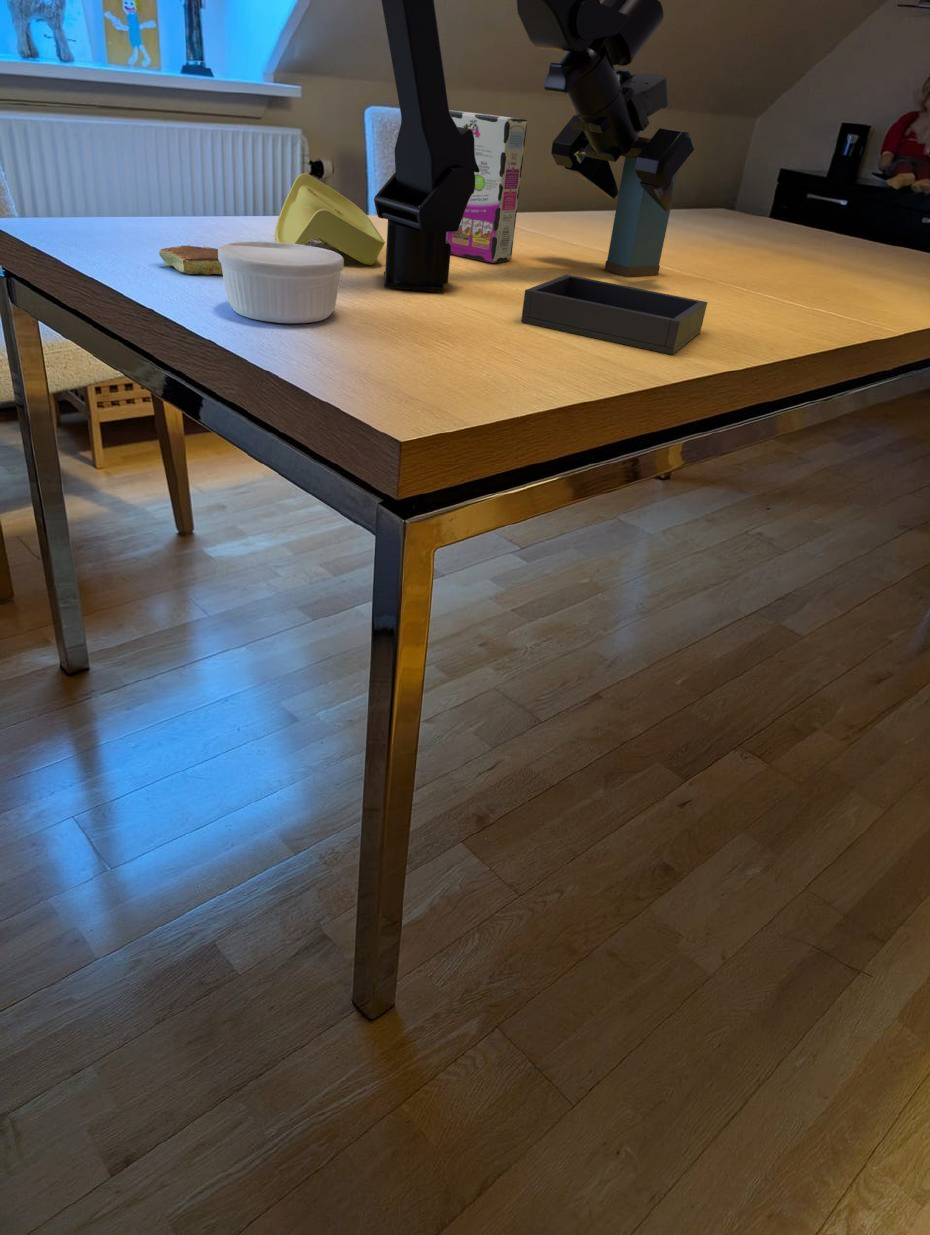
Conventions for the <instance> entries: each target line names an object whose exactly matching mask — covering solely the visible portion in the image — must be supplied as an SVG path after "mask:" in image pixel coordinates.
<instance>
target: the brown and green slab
mask: <svg viewBox="0 0 930 1235" xmlns="http://www.w3.org/2000/svg"><path fill="white" fill-rule="evenodd" d="M218 249H219V248H215V247H210V246H194V245H179V246H171V247H165V248H161V249H160V250H159V251H158V255H159V257H160V258H161V259H162V261H163V262H164V265H165V266H167V267H171V266H172V267H174V268H175V269H176V271H179V272H180V273H185V274H186V275H205V276H206V275H222V276H223V272H222V266H221V263H220V261H219V259H218Z"/></svg>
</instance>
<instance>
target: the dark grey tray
mask: <svg viewBox="0 0 930 1235" xmlns="http://www.w3.org/2000/svg"><path fill="white" fill-rule="evenodd" d="M523 295H524V296H523V302H522V303H523V304H522V310H521V319H520V322H521V323H524V324H529V325H532V326H537V327H543V328H547V329H552V330H555V331H561V332H565V333H570V334H574V335H579V336H584V337H588V338H593V339H598V340H601V341H606V342H611V343H615V344H621V345H625V346H630V347H634V348H639V349H644V350H648V351H652V352H656V353H661V354H666V355H669V356H672V355H674V354H675V353H676V352H678V351H680V349H682V348H683V347H684V346H685V345H687V343H690V341H692V340H693V339H694V338H695V337H697V336H698V335H699V334H700V333H701V331H702V327H703V323H704V320H705V315H706V311H707V307H708V306H707V305H708V302H707V301H704V300H700V299H693V298H689V297H684V296H678V295H674V294H668V293H663V292H658V291H652V290H647V289H643V288H637V287H632V286H626V285H622V284H618V283H612V282H606V281H601V280H596V279H591V278H586V277H583V276H582V277H581V276H577V275H571V274H564V275H562V276H558V277H556V278H554V279H550V280H548V281H546V282H542V283H539V284H538V285H537V284H536V285H535V286H532V287H529V288H527V289H525V290H524V294H523Z"/></svg>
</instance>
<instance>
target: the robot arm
mask: <svg viewBox="0 0 930 1235" xmlns="http://www.w3.org/2000/svg"><path fill="white" fill-rule="evenodd" d="M381 6H382V11H383V18H384V23H385V30H386V36H387V40H388V47H389V52H390V53H389V54H390V58H391V65H392V71H393V76H394V81H395V87H396V94H397V99H398V106H399V110H400V111H399V112H400V119H401V120H400V121H401V122H400V126H399V130H398V133H397V137H396V142H395V144H394V168H395V169H394V170H395V172H394V173H393V174H392V175H391V176H390V178H389V179H388V180H387V181H386V183H384V185H383V186H382V187H381V189H379V190H378V192H377V193H376V194H375V196H374V197H373V202H374V207H375V211H376V215H377V218H379V219H383V220H387V229H386V230H387V231H386V246H385V247H386V250H385V266H384V267H385V270H384V271H383V287H384V288H389V289H401V290H402V289H403V290H413V291H424V292H425V291H426V292H436V293H444V292H445V285H447V284H448V283H449V274H450V265H451V264H450V263H451V254H450V253H451V244H450V242H449V241H448V240H446V235H447V232H456V231H458V229H459V226H460V223H461V220H462V217H463V215H464V212H465V209H466V206H467V203H468V201H469V199H470V197H471V195H472V194H473V193H474V190H475V173H474V172H477V173H478V172H479V168H478V165H477V163H476V159H475V152H474V136H473V132H472V130H471V129H467V128H462V127H457V126H456V124H455V122H454V120H453V119H452V117H451V115H450V111H449V110H450V107H449V101H448V93H447V86H446V78H445V71H444V64H443V57H442V50H441V42H440V36H439V28H438V21H437V14H436V13H437V12H436V5H435V0H381ZM516 11H517V14H518V17H519V19H520V21H521V23H522V26H523V28H524V30H525V32H526V34H527V36H528V39H529V41H530V42H531V43H532V45H534V46H535V47H536V48H537V49H540V50H541V49H542V50H550V51H563V52H565V53H564V54H563V56H562V57H560V59H559V60H558V62H550V63H549V66H548V72H547V75H546V77H545V80H544V85H543V90H544V91H546V92H552V93H560V94H566V96H567V97H568V98H567V99H568V100H569V102H570V105H571V107H572V110H573V111H574V113H575V115H572V117H571V118H570V120H569V121H568V122H567V123H566V125H564V127H563V128H562V129H561V131H559V133H558V135H557V136H556V137H555V138H554V139H553V141H552V143H551V144H552V145H551V152H550V154H551V156H552V158H553V159H554V162H555V164H556V166H561V167H564V169H565V170H566V171H567V172H571V173H572V174H574V175H575V176H577V177H579V178H580V179H582V180H583V181H585V182H586V183H588V184H590V185H591V186H593V187H594V188H595V189H597V190H598V191H599V192H601V193H602V194H604V195H605V196H607V197H608V198H610V199H612V200H615V199H616V197H618V195H619V188H618V185H617V182H616V179H615V176H614V173H613V170H612V167H611V164H610V162H613V163H616V162H617V161H618V160H619V159H620V157H624V158H625V157H629V158H635V159H636V163H635V169H634V170H635V172H636V175H637V177H638V178H639V179H641V180H642V181H641V182H640V183H639V184H640V185H641V186H642V188H643V189H644V190H645V191H646V192H647V193H648V194H649V195H650V196H651V197H652V198H653V199H654V200H655V201H656V203H657V204H658V205H659V206H660V207H661V208H663V209H664V210H665V211H668V210H669V209H670V208H671V209H672V206H673V200H674V195H673V181H674V175H675V173H676V172H677V171H678V172H679V170H680V168H682V166H683V165H684V164H685V162H686V161H687V160H688V158H689V157H690V156H691V155H692V153H693V151H695V146H694V143H693V140H692V137H691V134H690V132H689V131H683V130H678V129H677V130H676V129H672V128H671V129H670V128H663V127H662V128H661V127H660V128H658V129H657V131H656V132H655V133H654V135H653V136H652V137H651V138H649V137H642V136H640V135H639V134H640V132H644V131H645V130H646V129H647V127H648V126H649V125H650V120H649V118H648V117H651V116H652V115H654V114H656V113H657V112H658V111H660V110H661V109H662V110H665V109H666V108H667V107H668V106H669V92H668V78H667V76H666V75H664V74H655V73H645V72H642V73H632V74H631V72H630V70H628V69H623V68H617V69H615V68H614V66H620V67H621V66H622V67H625V66H628V65H629V64H631V63H632V62H633V60H634V59H635V58H636V56H638V54H639V53H640V52H641V50H643V48H644V47H645V45H646V44H647V43H648V41H650V39H651V38H652V36H654V34H655V33H656V31H657V30H658V29H659V28H660V27H661V25H662V23H663V21H664V14H665V13H664V8H663V5H662V3H661V1H660V0H603V1H602V2H601V1H600V0H516ZM671 209H670V210H671Z"/></svg>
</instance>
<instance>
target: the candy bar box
mask: <svg viewBox="0 0 930 1235" xmlns="http://www.w3.org/2000/svg"><path fill="white" fill-rule="evenodd" d="M449 111H450V115H451V117H452V119H453V120H454V122H455V124H456V126H457V127H462V128H467V129H471V130H472V132H473V136H474V152H475V159H476V163H477V165H478V168H479V172H478V173H477V172H474V173H475V190H474V193H473V194H472V195H471V197H470V199H469V201H468V203H467V206H466V209H465V212H464V215H463V217H462V220H461V223H460V226H459V229H458V231H456V232H447V235H446V240H448V241H449V242H450V244H451V253H450V255H452V256H457V257H462V258H468V259H472V260H476V261H482V262H485V263H491V264H495V263H503V262H508V261H511V260H512V256H513V247H514V241H515V240H514V239H515V231H516V222H517V213H518V212H517V211H518V207H519V206H518V205H519V196H520V186H521V179H522V170H523V162H524V154H525V145H526V136H527V130H528V129H527V128H528V127H527V126H528V120H527V119H524V118H518V117H512V116H511V117H510V116H503V115H495V114H487V113H478V112H470V111H460V110H452V109H451V110H450V109H449Z"/></svg>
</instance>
